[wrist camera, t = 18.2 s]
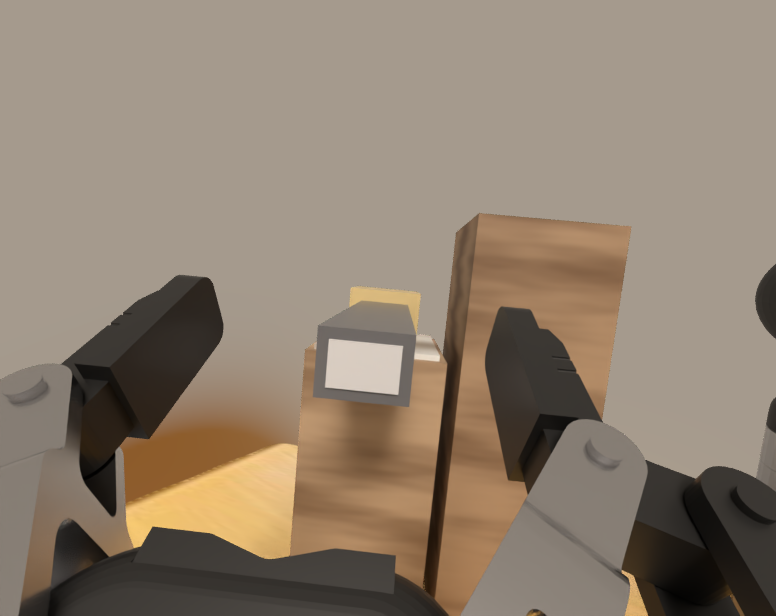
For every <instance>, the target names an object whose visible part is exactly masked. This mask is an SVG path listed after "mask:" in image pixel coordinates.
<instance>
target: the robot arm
mask: <svg viewBox="0 0 776 616" xmlns="http://www.w3.org/2000/svg"><path fill="white" fill-rule="evenodd" d="M755 302H756V310H757V313H758V316H759V318H760V320H761V322H762V323H763V325H764V327H765V328H766V329H767V330H768V332H769V333H770V334H771V335H772V336H773V337H774V338H776V264H775V265H774V266H773V267H772V268H771V269H770V270H769V271H768V272H767V273H766V274H765V276H764V277H763V279H762V280H761V282H760V284H759V286H758V288H757V292H756V298H755ZM222 335H223V321H222V317H221V313H220V309H219V305H218V301H217V297H216V293H215V290H214V286H213V283H212V281H211V280H210V279H209V278H207V277H197V276H186V275H178V276H176V277H174V278H173V279H172V280H171V281H169V282H168V283H167V284H166V285H165V286H164V287H162V288H161V289H160V290H159V291H156V292H154V293H152V294H150V295H148V296H146V297H144V298H142V299H140V300H138V301H137V302H135V303H134V304H133V305H132V306H131V307H129V308H128V309H127V310H126V311H125V312H123V315H120V316H119V317H117V318H116V319H115V320H114V321H112V322H111V326H106V327H105V328H104V329H103V330H102V331H100V332H99V333H98V334H97V335H96V336H94V337H93V338H92V339H91V340H90V341H88V342H87V343H86V344H85V345H84V346H83V347H81V348H80V349H79V350H78V351H76V352H75V353H74V354H73V355H71V356H70V357H69V358H68V359H67V360H65V361H64V362H63V363H62V364H42V365H36V366H32V367H29V368H25V369H22V370H20V371H17V372H15V373H13V374H10V375H8V376H6V377H4V378H2V379H1V380H0V616H449V615H448V613H447V612H446V611H445V610H444V609H443V608H442V607H441V606H440V604H439V603H438V602H437V601H436V600H435V599H434V598H433V597H432V596H430V595H429V594H428V593H427V592H426V591H424V590H423V589H422V588H421V587H419V586H418V585H416V584H415V583H413V582H412V581H410V580H409V579H407V578H405V577H403V576H401V575H399V574H396V573H395V563H396V555H388V554H380V553H371V552H363V551H354V550H346V549H337V548H334V549H328V550H322V551H317V552H311V553H306V554H300V555H294V556H289V557H283V558H277V559H264V558H261V557H259V556H257V555H255V554H253V553H251V552H249V551H246V550H244V549H242V548H240V547H238V546H236V545H234V544H232V543H230V542H228V541H226V540H224V539H222V538H220V537H217V536H215V535H213V534H210V533H202V532H194V531H185V530H177V529H168V528H160V527H152V529H151V531H150V532H149V534H148V536H147V537H146V539H145V541H144V543H143V544H142V546H141V547H137V548H134V547H133V544H132V541H131V539H130V537H129V534H128V530H127V525H126V509H125V485H124V459H123V452H122V450H121V448H120V445H121V444H122V442H123V441H124V440H125V438H126V437H134V438H143V439H149V438H150V437H151V436H152V434H153V433H154V432H155V430H156V429H157V428H158V426H159V424H160V423H161V422H162V421H163V419H164V418H165V417H166V415H167V414H168V412H169V411H170V410H171V408H172V407H173V406H174V404H175V403H176V401H177V400H178V399H179V397H180V395H181V394H182V393H183V392H184V390H185V389H186V388H187V386H188V385H189V384H190V382H191V381H192V379H193V378H194V377H195V375H196V374H197V373H198V371H199V370H200V369H201V367H202V366H203V365H204V363H205V361H206V360H207V359H208V358H209V356H210V355H211V354H212V352H213V351H214V349H215V348H216V347H217V345H218V344H219V342H220V340H221V338H222ZM485 371H486V376H487V381H488V386H489V391H490V396H491V401H492V406H493V410H494V415H495V420H496V425H497V430H498V435H499V439H500V444H501V449H502V454H503V459H504V464H505V469H506V473H507V478H508V481H518V482H525V486H526V490H527V494H528V496H527V497H526V499H525V501H524V503H523V505H522V506H521V508H520V510H519V512H518V513H517V515H516V517H515V519H514V521H513V522H512V524H511V526H510V528H509V529H508V531H507V533H506V535H505V536H504V538H503V540H502V542H501V544H500V545H499V547H498V549H497V551H496V552H495V554H494V556H493V558H492V560H491V561H490V563H489V565H488V567H487V568H486V570H485V572H484V574H483V575H482V577H481V579H480V581H479V583H478V584H477V586H476V588H475V590H474V591H473V593H472V595H471V597H470V598H469V600H468V602H467V604H466V606H465V607H464V609H463V611H462V613H461V614H460V616H625V612H626V608H627V603H628V599H629V592H630V583H629V579H628V578H627V577H626V576H625V575H623V574H622V572H621V570H623V571H626V572H628V573H630V574H632V575H634V577H635V580H636V583H637V586H638V588H639V591H640V594H641V597H642V599H643V602H644V605H645V608H646V610H647V613H648V616H776V398H775V399H773V401H772V402H771V405H770V408H769V412H768V417H767V423H766V428H765V434H764V438H763V444H762V449H761V454H760V461H759V465H758V471H757V476H756V478H754V477H752V476H750V475H748V474H746V473H744V472H741V471H739V470H736V469H733V468H728V467H722V466H716V467H711V468H708V469H706V470H705V471H704V472H703V473H702V474H701V475H700V476H698V478H696V479H695V478H692V477H689V476H687V475H684V474H681V473H679V472H676V471H673V470H670V469H668V468H665V467H662V466H660V465H657V464H654V463H652V462H649V461H647V460H645V459H644V457H643V455H642V453H641V452H640V450H639V449H638V447H637V446H636V445H635V444H634V443H633V442H632V441H631V440H630V439H629V438H628V437H627V436H625V435H624V434H623V433H621V432H620V431H618V430H617V429H615V428H614V427H611V426H609V425H607V424H605V423H603V421H602V419H601V417H600V415H599V413H598V411H597V410H596V408H595V406H594V404H593V402H592V400H591V398H590V396H589V394H588V392H587V390H586V388H585V386H584V384H583V382H582V380H581V378H580V376H579V374H577V373H576V371H577V370H576V368H575V366H574V364H573V362H572V361H570V356H569V354H568V352H567V350H566V348H565V346H564V344H563V343H562V342H561V341H560V340H559V339H558V338H557V337H556V336H555V335H554V334H553V333H552V332H551V331H550V330H549V329H540V328H539V326H538V324H537V322H536V320H535V317H534V315H533V313H532V311H531V310H530V309H525V308H514V307H504V306H501V307H500V308H499V310H498V312H497V315H496V318H495V322H494V325H493V329H492V332H491V335H490V339H489V342H488V346H487V349H486V354H485ZM731 594H733V597H732V599H731V597H730V595H731Z"/></svg>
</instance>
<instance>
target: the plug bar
mask: <svg viewBox="0 0 776 616" xmlns="http://www.w3.org/2000/svg"><path fill="white" fill-rule="evenodd" d="M420 296H421V294H420V293H418V292H415V291H405V290H393V289H383V288H373V287H363V286H358V287H352V288H351V294H350V305H349V308H348V309H346V310H344V311H342V312H341V313H339V314H337V315H335V316H334V317H332V318H330V319H328V320H327V321H325V322H323V323H321V324H320V325H318V334H317V346H316V359H315V372H314V386H313V397H316V398H325V399H335V400H344V401H354V402H364V403H373V404H383V405H393V406H402V407H409V404H410V394H411V385H412V375H413V365H414V355H415V345H416V336H417V326H418V316H419V306H420Z"/></svg>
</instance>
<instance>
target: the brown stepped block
mask: <svg viewBox="0 0 776 616" xmlns="http://www.w3.org/2000/svg"><path fill="white" fill-rule="evenodd" d="M630 233H631V226H619V225H608V224H597V223H596V224H595V223H584V222H573V221H561V220H551V219H538V218H528V217H516V216H505V215H493V214H482V213H479V214H478V215H477V216H475V217H474V218H473V219H472V220H471V221H469V222H468V223H467V224H466V225H465V226H463V227H462V228H461V229H460V230H459V231H458V232H456V239H455V248H454V257H453V266H452V276H451V284H450V294H449V303H448V313H447V321H446V331H445V340H444V349H443V355H442V353H441V351H440V349H439V347H438V345H437V343H436V342H435V340H434V339H431V337H430V335H420V334H417V336H416V345H415V355H414V365H413V375H412V385H411V394H410V404H409V407H402V406H393V405H383V404H373V403H364V402H354V401H344V400H335V399H325V398H316V397H313V386H314V372H315V359H316V346H317V341H316V342H315V343H313V344H312V345H311V346H309V347H308V348H307V349H305V359H304V372H303V373H304V374H303V387H302V400H301V414H300V427H299V440H298V454H297V467H296V481H295V494H294V508H293V521H292V535H291V548H290V556H294V555H300V554H306V553H311V552H317V551H322V550H328V549H334V548H337V549H346V550H354V551H363V552H371V553H380V554H388V555H396V563H395V573H396V574H399V575H401V576H403V577H405V578H407V579H409V580H410V581H412V582H413V583H415V584H416V585H418V586H419V587H421V588H423V579H424V580H425V591H426V592H427V593H428V594H429V595H430V596H432V597H433V598H434V599H435V600H436V601H437V602H438V603H439V604H440V606H441V607H442V608H443V609H444V610H445V611H446V612H447V613H448V615H449V616H460V614H461V613H462V611H463V609H464V607H465V606H466V604H467V602H468V600H469V598H470V597H471V595H472V593H473V591H474V590H475V588H476V586H477V584H478V583H479V581H480V579H481V577H482V575H483V574H484V572H485V570H486V568H487V567H488V565H489V563H490V561H491V560H492V558H493V556H494V554H495V552H496V551H497V549H498V547H499V545H500V544H501V542H502V540H503V538H504V536H505V535H506V533H507V531H508V529H509V528H510V526H511V524H512V522H513V521H514V519H515V517H516V515H517V513H518V512H519V510H520V508H521V506H522V505H523V503H524V501H525V499H526V497H527V496H528V494H527V490H526V486H525V482H518V481H508V478H507V473H506V469H505V464H504V459H503V454H502V449H501V444H500V439H499V435H498V430H497V425H496V420H495V415H494V410H493V406H492V401H491V396H490V391H489V386H488V381H487V376H486V371H485V354H486V349H487V346H488V342H489V339H490V335H491V332H492V329H493V325H494V322H495V318H496V315H497V312H498V310H499V308H500V307H501V306H504V307H514V308H525V309H530V310H531V311H532V313H533V315H534V317H535V320H536V322H537V324H538V326H539V328H540V329H549V330H550V331H551V332H552V333H553V334H554V335H555V336H556V337H557V338H558V339H559V340H560V341H561V342H562V343H563V344H564V346H565V348H566V350H567V352H568V354H569V356H570V361H572V362H573V364H574V366H575V368H576V370H577V371H576V373H577V374H579V376H580V378H581V380H582V382H583V384H584V386H585V388H586V390H587V392H588V394H589V396H590V398H591V400H592V402H593V404H594V406H595V408H596V410H597V411H598V413H599V415H600V417H601V419H602V417H603V410H604V403H605V397H606V390H607V384H608V377H609V371H610V363H611V356H612V350H613V344H614V337H615V331H616V324H617V318H618V311H619V305H620V298H621V291H622V285H623V278H624V272H625V265H626V259H627V252H628V246H629V239H630Z"/></svg>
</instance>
